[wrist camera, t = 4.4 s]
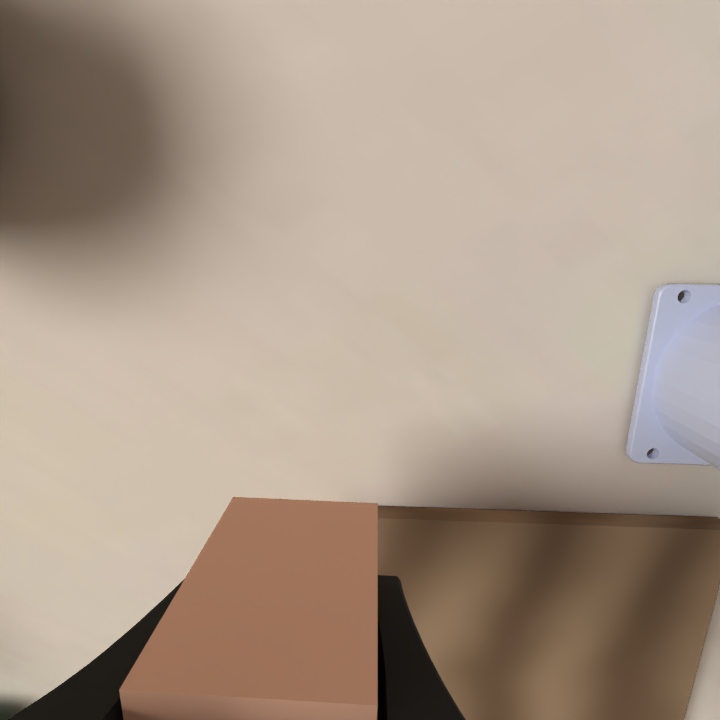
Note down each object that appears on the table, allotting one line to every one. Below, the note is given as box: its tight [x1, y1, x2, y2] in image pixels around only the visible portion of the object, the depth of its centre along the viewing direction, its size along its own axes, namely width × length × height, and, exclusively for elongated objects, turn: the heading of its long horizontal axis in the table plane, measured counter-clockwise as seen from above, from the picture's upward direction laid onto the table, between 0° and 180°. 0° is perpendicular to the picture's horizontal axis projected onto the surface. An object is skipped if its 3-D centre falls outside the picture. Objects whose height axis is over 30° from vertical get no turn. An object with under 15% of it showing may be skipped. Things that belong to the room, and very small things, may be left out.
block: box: [119, 497, 378, 720], centre depth 11 cm, size 4×4×6 cm
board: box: [378, 506, 720, 720], centre depth 22 cm, size 18×14×1 cm
